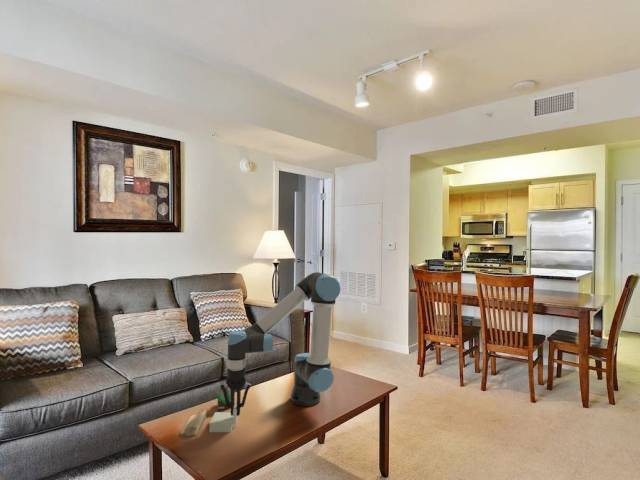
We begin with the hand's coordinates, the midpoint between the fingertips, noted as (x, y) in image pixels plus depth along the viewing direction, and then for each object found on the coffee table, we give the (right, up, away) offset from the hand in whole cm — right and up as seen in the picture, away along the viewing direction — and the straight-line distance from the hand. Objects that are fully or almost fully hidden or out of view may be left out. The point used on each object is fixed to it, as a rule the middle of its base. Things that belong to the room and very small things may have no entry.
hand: (235, 422), depth 164 cm
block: (-5, -2, 0) cm, 6 cm away
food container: (-7, -2, +19) cm, 20 cm away
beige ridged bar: (-18, -1, 0) cm, 18 cm away
